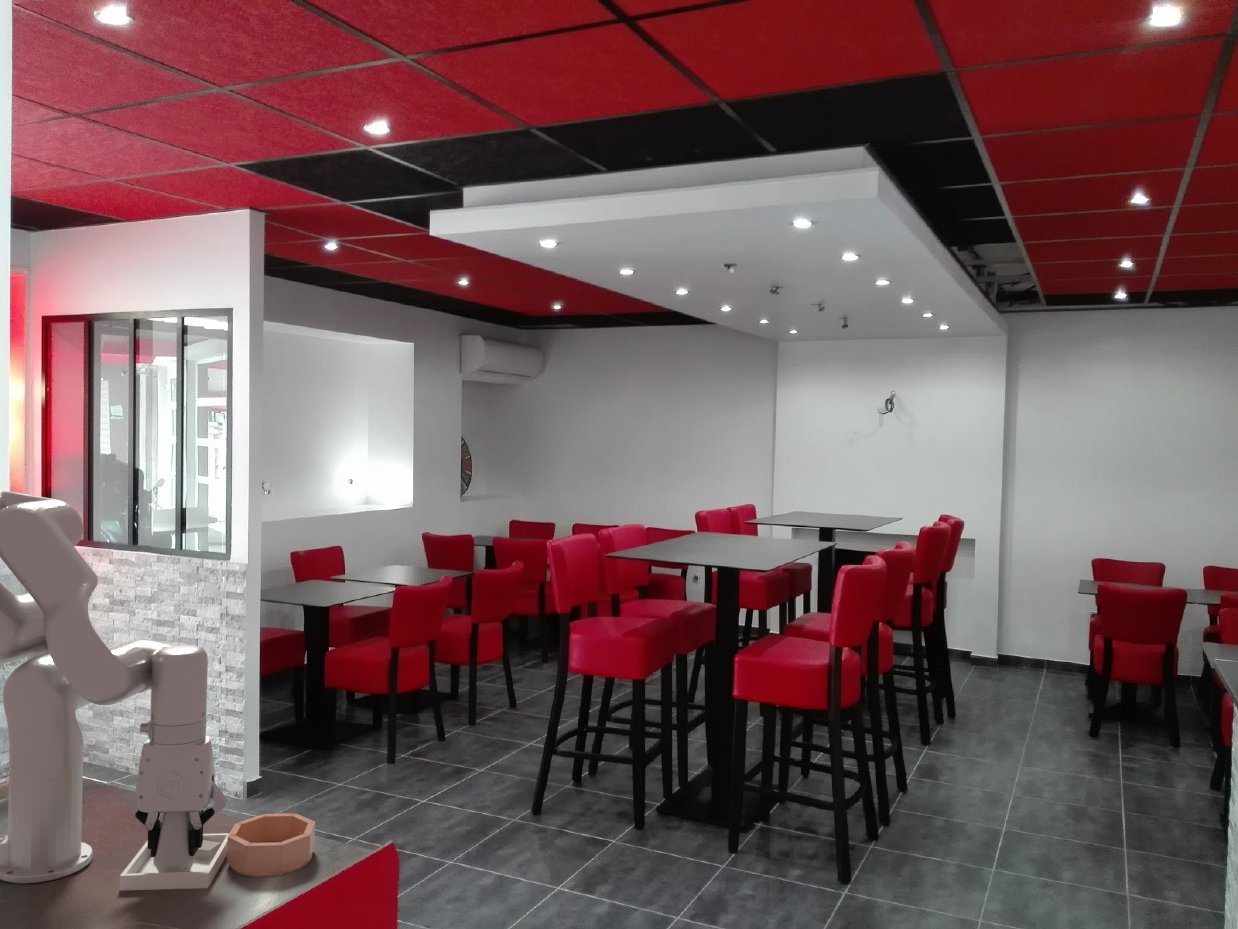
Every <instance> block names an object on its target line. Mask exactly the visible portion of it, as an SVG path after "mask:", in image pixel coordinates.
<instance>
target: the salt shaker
mask: <svg viewBox="0 0 1238 929" xmlns="http://www.w3.org/2000/svg"><path fill="white" fill-rule="evenodd" d="M161 822H162V825H161V829H160V834H159V838H158V844H157V852H156V856H155V857H154V859H153V861H154V865H155V866H156V868H157V870H158V872H159V873H172V872H189V871H190V870H191V868H192V865H193V863H194V861H195V858H196V854H197V853H195V855H194V856H190V855H189V851H188V850H189V830H190V829H191V827H192V820H191V816H190V812H167V813H163V817H162V820H161Z"/></svg>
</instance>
